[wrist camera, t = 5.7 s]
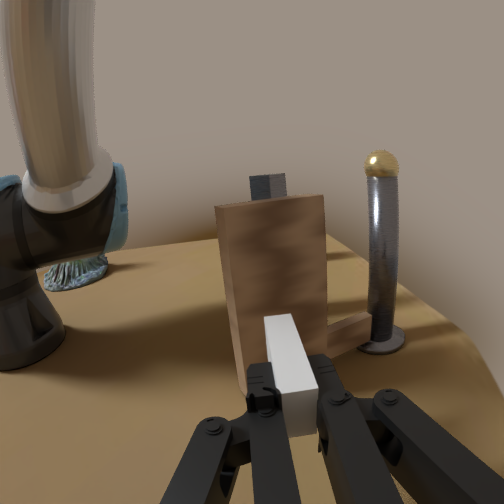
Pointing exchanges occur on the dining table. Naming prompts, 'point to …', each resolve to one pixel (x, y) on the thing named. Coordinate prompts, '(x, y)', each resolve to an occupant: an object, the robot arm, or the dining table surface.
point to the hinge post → (382, 252)
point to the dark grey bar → (268, 186)
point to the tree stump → (75, 273)
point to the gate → (280, 277)
